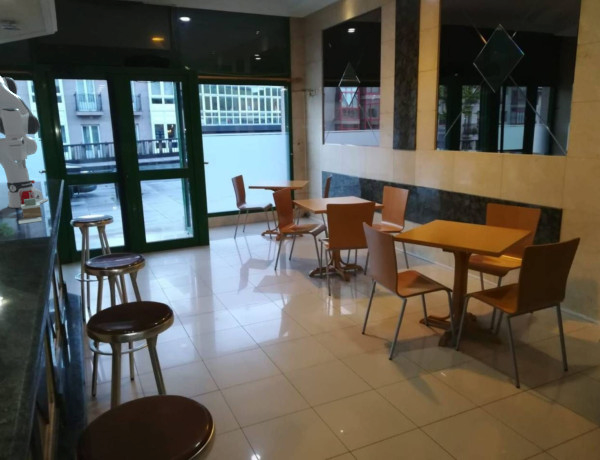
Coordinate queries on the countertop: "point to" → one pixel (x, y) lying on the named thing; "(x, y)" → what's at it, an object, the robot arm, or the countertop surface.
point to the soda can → (26, 195)
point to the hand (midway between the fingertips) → (22, 169)
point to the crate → (32, 212)
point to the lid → (30, 204)
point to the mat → (30, 220)
